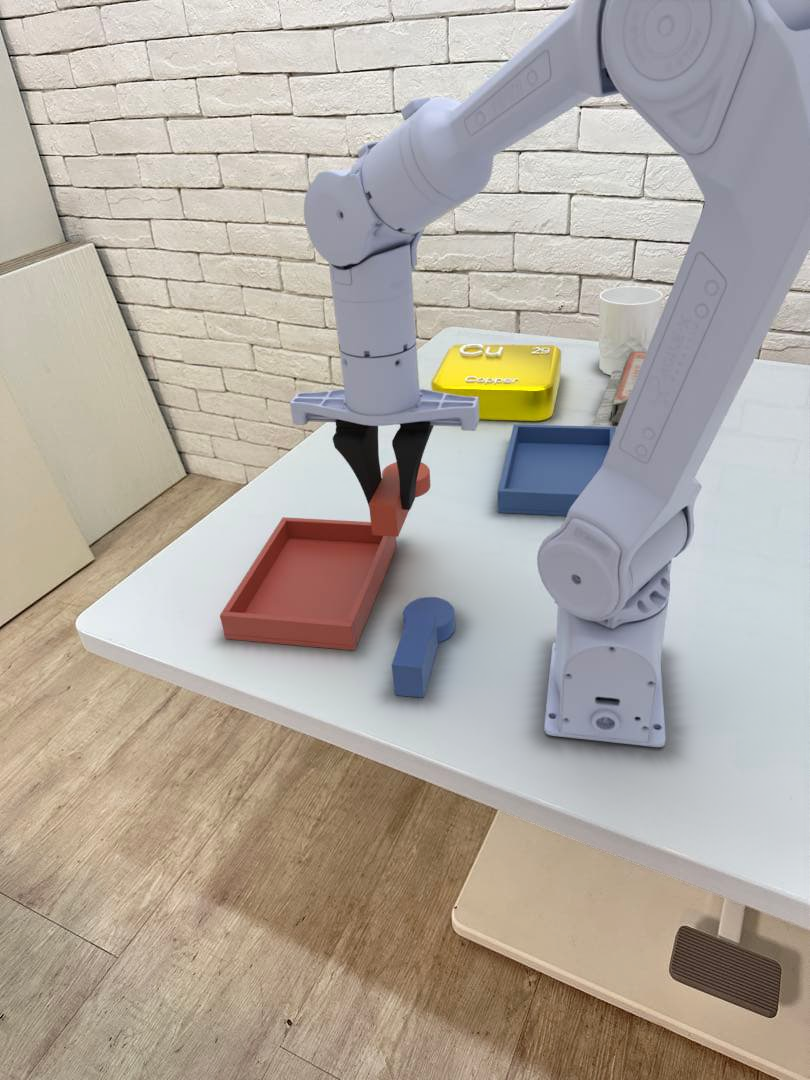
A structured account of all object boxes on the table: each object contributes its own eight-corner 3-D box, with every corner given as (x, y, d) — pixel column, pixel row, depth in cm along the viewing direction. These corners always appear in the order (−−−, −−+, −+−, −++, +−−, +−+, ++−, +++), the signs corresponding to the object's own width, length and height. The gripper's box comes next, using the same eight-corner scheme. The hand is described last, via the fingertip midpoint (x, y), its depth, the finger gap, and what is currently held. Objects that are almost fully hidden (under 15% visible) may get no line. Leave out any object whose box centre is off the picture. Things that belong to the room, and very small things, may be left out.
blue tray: (613, 518, 77) (615, 496, 76) (497, 512, 79) (497, 491, 78) (613, 447, 89) (615, 426, 88) (513, 443, 92) (513, 424, 90)
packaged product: (614, 345, 102) (696, 349, 99) (611, 381, 105) (691, 386, 101) (591, 401, 88) (686, 409, 85) (589, 441, 91) (681, 449, 88)
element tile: (429, 418, 99) (427, 382, 96) (452, 373, 111) (450, 339, 108) (551, 423, 95) (552, 385, 93) (561, 375, 108) (562, 340, 105)
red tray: (354, 650, 64) (351, 626, 62) (225, 639, 66) (219, 615, 65) (397, 545, 76) (395, 523, 75) (286, 538, 78) (282, 517, 77)
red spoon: (410, 538, 64) (407, 506, 62) (360, 534, 65) (356, 503, 63) (434, 476, 72) (432, 447, 70) (389, 474, 73) (387, 445, 71)
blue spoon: (437, 699, 58) (434, 669, 57) (381, 693, 59) (378, 663, 58) (459, 613, 67) (457, 584, 65) (410, 609, 68) (407, 581, 66)
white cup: (663, 362, 109) (671, 288, 103) (644, 383, 103) (651, 306, 98) (607, 355, 112) (612, 283, 107) (586, 374, 107) (590, 300, 102)
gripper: (483, 326, 60) (486, 483, 68) (302, 325, 63) (323, 475, 71) (468, 360, 54) (473, 527, 62) (270, 357, 58) (297, 517, 65)
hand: (392, 502), depth 66 cm, fingers closed on red spoon, 2 cm apart
